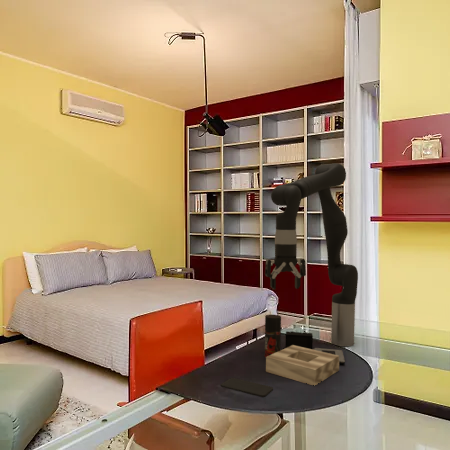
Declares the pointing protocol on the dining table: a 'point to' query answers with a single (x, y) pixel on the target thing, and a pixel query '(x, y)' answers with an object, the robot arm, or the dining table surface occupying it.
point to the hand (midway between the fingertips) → (285, 288)
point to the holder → (302, 364)
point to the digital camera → (299, 339)
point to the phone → (247, 387)
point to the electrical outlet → (335, 352)
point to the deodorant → (272, 334)
